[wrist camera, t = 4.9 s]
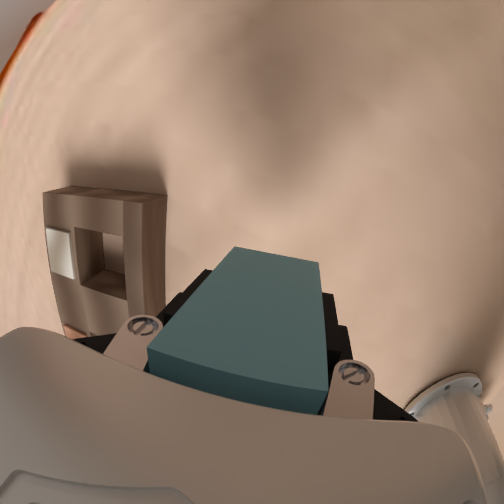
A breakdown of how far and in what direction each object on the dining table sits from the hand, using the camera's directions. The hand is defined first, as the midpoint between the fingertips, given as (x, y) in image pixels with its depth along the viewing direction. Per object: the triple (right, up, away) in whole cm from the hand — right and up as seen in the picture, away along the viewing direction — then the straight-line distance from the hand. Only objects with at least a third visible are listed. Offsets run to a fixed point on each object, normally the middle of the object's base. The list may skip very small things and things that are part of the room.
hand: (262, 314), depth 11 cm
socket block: (-15, -2, +14) cm, 21 cm away
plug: (0, +1, +2) cm, 2 cm away
